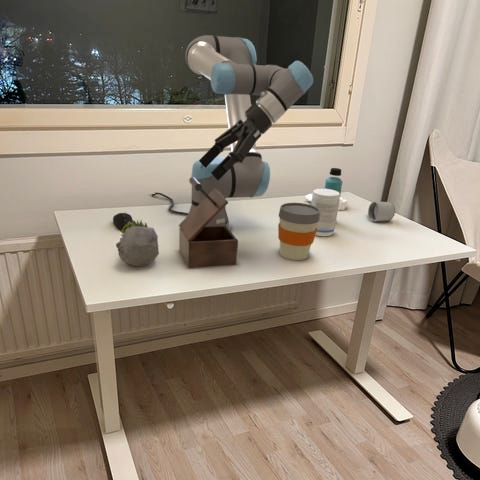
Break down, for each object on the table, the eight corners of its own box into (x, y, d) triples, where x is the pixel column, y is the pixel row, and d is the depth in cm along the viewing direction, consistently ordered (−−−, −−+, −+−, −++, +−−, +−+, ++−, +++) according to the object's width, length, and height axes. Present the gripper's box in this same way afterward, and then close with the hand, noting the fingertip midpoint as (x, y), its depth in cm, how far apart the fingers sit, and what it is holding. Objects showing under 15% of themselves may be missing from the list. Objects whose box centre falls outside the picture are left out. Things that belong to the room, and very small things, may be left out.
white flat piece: (300, 199, 206) (326, 196, 213) (325, 212, 193) (353, 208, 200) (301, 191, 205) (327, 189, 211) (327, 203, 192) (354, 201, 198)
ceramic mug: (394, 223, 187) (398, 203, 183) (376, 224, 184) (380, 204, 181) (379, 214, 195) (383, 196, 192) (361, 215, 193) (365, 196, 189)
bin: (224, 248, 152) (225, 225, 148) (236, 264, 142) (238, 240, 138) (179, 251, 148) (179, 227, 144) (188, 268, 138) (188, 242, 134)
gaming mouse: (119, 235, 156) (118, 223, 154) (111, 220, 168) (110, 209, 166) (138, 233, 158) (138, 222, 156) (129, 219, 170) (129, 208, 168)
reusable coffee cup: (282, 263, 145) (288, 215, 138) (268, 247, 156) (273, 202, 148) (319, 261, 149) (327, 214, 141) (304, 246, 159) (310, 202, 151)
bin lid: (216, 189, 142) (195, 167, 136) (228, 202, 131) (206, 179, 126) (180, 226, 144) (158, 206, 139) (189, 242, 134) (166, 221, 128)
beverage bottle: (317, 223, 181) (326, 169, 170) (319, 217, 186) (327, 165, 176) (335, 225, 180) (344, 171, 169) (336, 220, 185) (345, 167, 175)
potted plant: (114, 263, 129) (97, 231, 137) (145, 280, 140) (128, 249, 148) (144, 231, 127) (125, 201, 135) (174, 251, 137) (154, 222, 145)
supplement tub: (339, 235, 171) (346, 194, 163) (319, 238, 166) (326, 197, 159) (321, 226, 178) (327, 187, 170) (301, 229, 173) (307, 189, 165)
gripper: (241, 96, 136) (188, 150, 139) (272, 109, 116) (210, 172, 119) (256, 117, 141) (205, 169, 144) (289, 132, 120) (229, 192, 124)
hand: (207, 170), depth 132 cm, fingers open, 13 cm apart
